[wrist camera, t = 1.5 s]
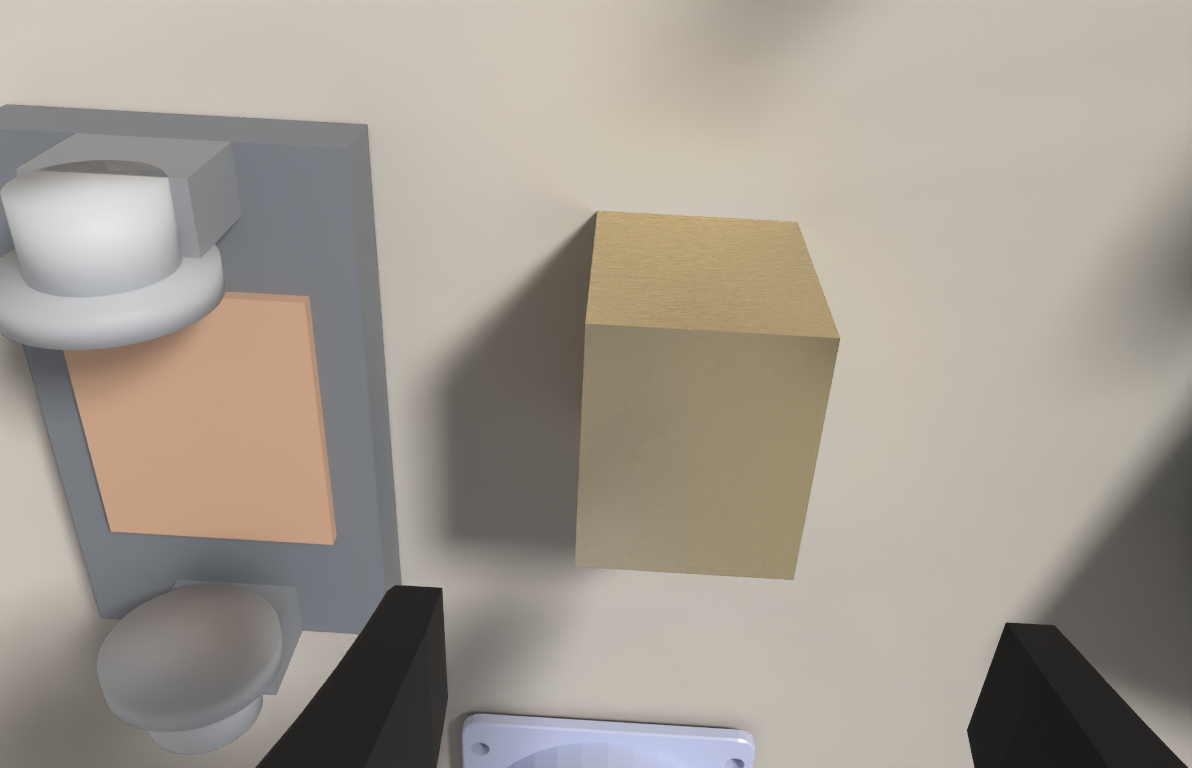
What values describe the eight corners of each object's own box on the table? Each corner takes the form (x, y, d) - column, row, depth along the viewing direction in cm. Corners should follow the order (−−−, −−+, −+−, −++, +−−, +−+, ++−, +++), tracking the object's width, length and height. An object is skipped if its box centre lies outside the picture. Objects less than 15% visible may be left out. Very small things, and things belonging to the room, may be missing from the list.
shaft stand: (401, 593, 25) (343, 789, 20) (128, 576, 25) (2, 768, 20) (367, 124, 19) (270, 241, 14) (6, 104, 19) (-218, 213, 14)
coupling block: (764, 429, 22) (793, 580, 18) (587, 418, 22) (574, 567, 18) (797, 220, 20) (840, 338, 16) (597, 209, 20) (585, 323, 16)
